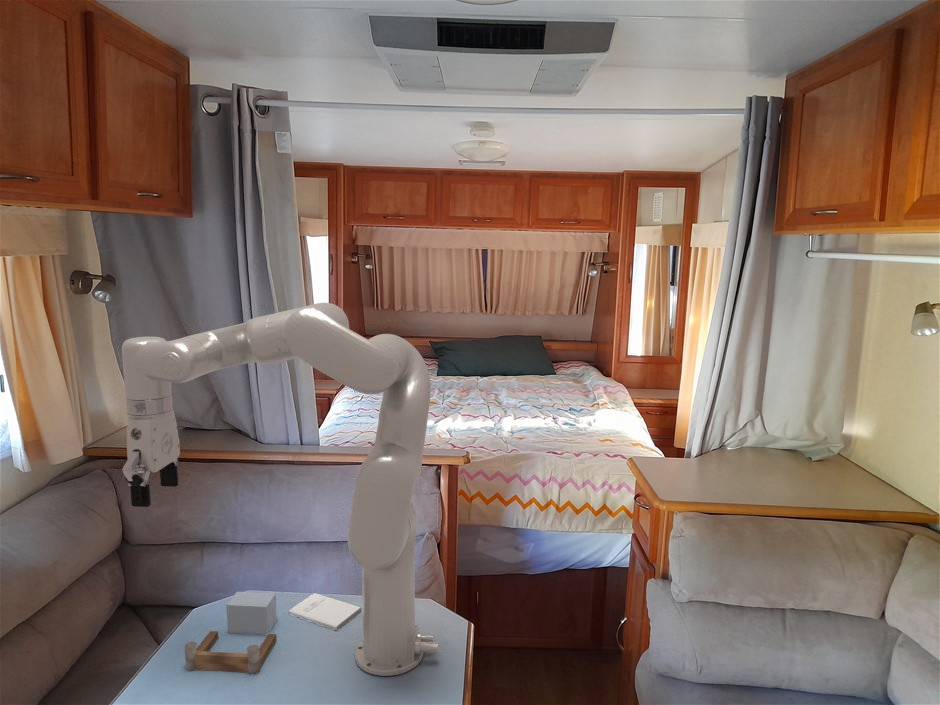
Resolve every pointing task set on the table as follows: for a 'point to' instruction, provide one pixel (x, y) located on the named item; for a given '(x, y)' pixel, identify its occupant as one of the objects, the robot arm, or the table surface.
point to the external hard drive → (325, 611)
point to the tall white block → (251, 613)
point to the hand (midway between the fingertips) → (156, 495)
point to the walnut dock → (226, 656)
